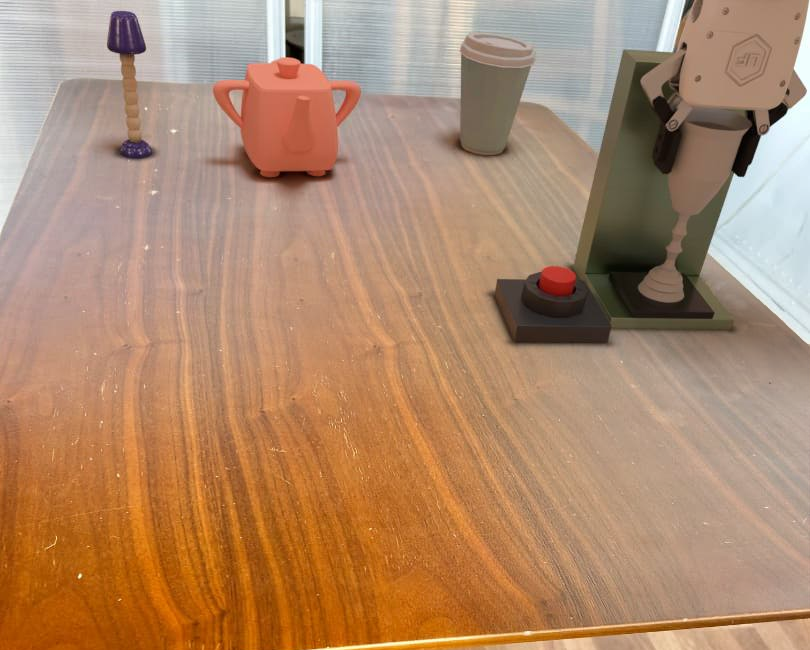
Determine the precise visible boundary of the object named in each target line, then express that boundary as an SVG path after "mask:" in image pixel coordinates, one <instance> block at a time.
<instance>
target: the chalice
mask: <svg viewBox="0 0 810 650" xmlns="http://www.w3.org/2000/svg"><path fill="white" fill-rule="evenodd" d="M751 126H752V123H751V121H750V120H748V119H747V118H746V117H744V116H742V115H739V114H737V113H734V112H731V111H727V110H722V109H718V108H703V107H694V108H693V109H692V110H691V112H690V113H689V114H688V116H687V117H686V118H685V119H684V121H683V122H682V123H681V124H680V126H679V129H678V130H679V131H680V132H681V133H682V136H681V140H680V143H679V147H678V150H677V154H676V157H675V160H674V164H673V167H672V171H671V172H670V173H669V174H668V182H669V190H670V196H671V202H672V208H673V209H674V210H675V211H676V212H678V213H679V219H678V222H677V224H676V226H675V228H673V229H672V230H671V231H672V234H673V239H672V241H671V243H670V245H668V246H666V250H667V259H666V261H665V263H664V264H662V265H661V266H656V267H654V268H653V269H652V270H650V271H649V274H648V275H647V276H645V278H644V280H643V281H642V282H641V283H640V284H639V285H638V290H639V291H640V293H642V294H643V295H644V296H646V297H648V298H650V299H652V300H656V301H660V302H678V301H680V300H682V299H683V298H684V292H683V283H682V281H683V278H682V276H681V274H680V272H679V271H678V270H676V267H675V266H674V265H675V259H676V257H677V256H678V254H679V253H681V252H682V248H681V240H682V239H683V237H684V236H685V235H686V234H687V231H686V225H687V221H688V219H689V217H690V215H696V214H699V213H700V212H701V211H702V209H703V208H704V207H705V206H706V205H707V204H708V203H709V202H710V200H711V199H712V198H713V197H714V196H715V195H716V194H717V192H718V191H719V190H720V188H721V187H722V185H723V184H724V183H725V181H726V180H727V178H728V177H729V175H730V172H731V169H732V166H733V163H734V160H735V157H736V154H737V151H738V148H739V145H740V142H741V139H742V136H743V135H744V134H745V133H746V132H747V130H748V129H749V128H750V127H751Z"/></svg>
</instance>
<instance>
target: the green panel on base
mask: <svg viewBox="0 0 810 650" xmlns="http://www.w3.org/2000/svg"><path fill="white" fill-rule="evenodd" d="M675 53H676V51H674V52H673V51H659V50H657V51H656V50H643V49H625V48H624V49H623V50H622V53H621V57H620V62H619V67H618V71H617V74H616V79H615V84H614V88H613V92H612V96H611V101H610V105H609V110H608V114H607V118H606V123H605V127H604V131H603V135H602V140H601V144H600V149H599V153H598V158H597V162H596V167H595V171H594V175H593V179H592V182H591V183H592V184H591V187H590V192H589V196H588V201H587V205H586V209H585V214H584V219H583V223H582V226H581V231H580V236H579V240H578V245H577V248H576V253H575V258H574V262H573V266H572V268H573V270H574V273H575V275H576V276H577V277H578V280H584V281H585V282H586V284H587V285H588V287H589V289H590V290H591V292H592V294H593V295H594V297H595V299H596V301H597V302H598V304H599V306H600V307H601V309H602V311H603V313H604V314H605V316H606V318H607V319H608V321H609V323H610V324H611V326H612V328H611V329H625V330H626V329H628V330H630V329H631V330H633V329H635V330H636V329H637V330H638V329H640V330H641V329H642V330H645V329H646V330H731V328H732V326H733V323H734V320H735V319H734V318H733V316H732V314H730V313H729V311H728V310H727V309H726V308H725V306H724V305H723V304H722V302H721V301H720V300H719V299H718V297H717V296H716V295H715V294H714V292H713V291H712V290H711V288H710V287H709V285H708V284H706V282H705V281H704V280H703V278H702V277H701V273H702V270H703V267H704V263H705V261H706V258H707V255H708V252H709V249H710V246H711V244H712V240H713V237H714V234H715V231H716V228H717V225H718V223H719V219H720V216H721V213H722V211H723V208H724V205H725V201H726V198H727V195H728V192H729V191H730V187H731V184H732V181H733V177H734V175H735V173H734V172H733V171H732V170H731V172H730V175H729V177H728V178H727V180H726V181H725V183H724V184H723V185H722V187H721V188H720V190H719V191H718V192H717V194H716V195H715V196H714V197H713V198H712V199H711V200H710V202H709V203H708V204H707V205H706V206H705V207H704V208H703V209H702V211H701V212H700V213H699V214H696V215H690V217H689V219H688V221H687V225H686V231H687V234H686V235H685V236H684V237H683V239H682V240H681V248H682V252H681V253H679V254H678V256H677V257H676V259H675V265H674V266H675V267H676V270H678V271H679V272H680V274H681V276H682V278H683V281H682V283H683V292H684V298H683V299H682V300H680V301H678V302H660V301H656V300H652V299H650V298H648V297H646V296H644V295H643V294H642V293H640V291H639V290H638V285H639V284H640V283H641V282H642V281H643V280H644V278H645V276H647V275H648V274H649V271H650V270H652V269H653V268H654V267H656V266H661V265H662V264H664V263H665V261H666V259H667V250H666V246H668V245H670V243H671V241H672V239H673V234H672V231H671V230H672V229H673V228H675V226H676V224H677V222H678V219H679V213H678V212H676V211H675V210H674V209H673V208H672V202H671V196H670V190H669V182H668V174H662V172H661V171H660V170H659V169H658V168H657V167H656V166H655V164H654V160H653V157H652V154H653V149H654V146H655V142H656V138H657V135H658V131H659V127H660V124H661V122H660V121H659V120H658V118H657V116H656V114H655V112H654V111H653V109H652V107H651V106H650V104H649V100H648V98H647V96H646V94H645V92H644V90H643V87H642V85H641V78H642V77H643V76H644V75H645V74H647V73H648V72H650V71H651V70H652V69H654V68H655V67H657V66H658V65H659V64H661V63H662V62H664V61H665V60H666V59H668V58H669V57H671V56H672V55H673V54H675ZM661 89H662V92H663V95H664V98H665V99H666V101H668V99H669V98H670V97H671V95H672V94H673V93H674V90H672V89H671V88H670V86H669V80H668V81H666V82H665V83H664V84H663V85H662V88H661ZM718 109H719V108H718ZM722 110H727V111H731V112H734V113H737V114H739V115H742V116H744V117H745V111H744V110H738V109H722Z"/></svg>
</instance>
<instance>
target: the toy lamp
mask: <svg viewBox="0 0 810 650" xmlns="http://www.w3.org/2000/svg"><path fill="white" fill-rule="evenodd" d="M106 47H107V49H108V51H109V52H111V53H115V54H118V55H119V60H120V63H121V65H120V72H121V75H122V80H121V82H122V88H123V100H124V102H125V104H124V111H125V115H126V119H125V120H126V121H125V122H126V126H127V128H128V129H127V138H128V139H126V140H124V141H123V143H121V146H120V148H119V154H120V156H122V157H124V158H127V159H133V160H135V159H136V160H138V159H146V158H150V157H151V156H153V154H154V153H153V149H152V146H150V144H149V143H148V142H147V141H145V140H144V139H142V137H143V135H142V130H141V119H140V117H139V116H140V112H141V111H140V106H139V104H138V102H139V94H138V92H137V88H138V82H137V78H136V74H137V71H136V69H137V68H136V66H135V60H136V58H135V55H141V54H143V53H145V52H146V51H147V46H146V42H145V38H144V35H143V33H142V29H141V24H140V21H139V20H138V17H137V15H136V13H134V12H133V11H127V10H114V11H112V12H111V13H110V17H109V25H108V32H107V41H106Z"/></svg>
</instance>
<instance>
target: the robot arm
mask: <svg viewBox="0 0 810 650" xmlns="http://www.w3.org/2000/svg"><path fill="white" fill-rule="evenodd" d="M809 4H810V0H694V1H693V3H692V6H691V8H690V10H689V13H688V16H687V18H686V21H685V24H684V27H683V29H682V31H681V35H680V38H679V40H678V44H677V47H676V50H675V52H676V53H675V54H673V55H672V56H671V57H669V58H668V59H666V60H665V61H664V62H662V63H661V64H659V65H658V66H657V67H655V68H654V69H652V70H651V71H650V72H648V73H647V74H645V75H644V76H643V77H642V78H641V85H642V87H643V90H644V92H645V94H646V96H647V98H648V100H649V104H650V106H651V107H652V109H653V111H654V112H655V114H656V116H657V118H658V120H659V121H660V122H661V124H660V127H659V131H658V135H657V138H656V142H655V146H654V149H653V154H652V157H653V160H654V164H655V166H656V167H657V168H658V169H659V170H660V171H661V172H662V174H669V173H670V172H671V171H672V167H673V164H674V160H675V157H676V154H677V150H678V147H679V143H680V140H681V136H682V133H681V132H680V131H679V130H678V129H679V126H680V124H681V123H682V122H683V121H684V119H685V118H686V117H687V116H688V114H689V113H690V112H691V110H692V109H693V108H694V107H703V108H719V109H738V110H744V111H745V117H746V118H747V119H748V120H750V121H751V123H752V126H751V127H750V128H749V129H748V130H747V132H746V133H745V134H744V135H743V136H742V139H741V142H740V145H739V148H738V151H737V154H736V157H735V160H734V163H733V166H732V169H731V170H732V171H733V172H734V175H735V176H737V177H738V178H745V176H746V174H747V172H748V168H749V166H751V165H752V163H753V160H754V158H755V155H756V152H757V149H758V147H759V143H760V141H761V139H762V136H765V135H767V134H768V133H769V131H770V130H771V127H772V126H773V125H775V124H776V123H777V122H779V121H780V120H781V119H782V118H784V117H785V116H786V115H787V113H788V111H789V110H791V109H792V108H794V107H795V105H797V104H798V102H800V101H802V99H804V98H805V96H806V95H807V92H808V89H807V87H806V86H805V83H803V81H802V80H801V78H800V76H799V75H798V73H797V72H796V70H795V69H794V68H795V66H796V61H797V58H798V54H799V51H800V47H801V43H802V39H803V37H804V36H803V35H804V30H805V26H806V21H807V16H808V11H809ZM668 80H669V86H670V88H671V89H672V90H674V93H673V94H672V95H671V97H670V98H669V99H668V101H666V99H665V98H664V95H663V92H662V89H661V88H662V85H663V84H664V83H665V82H666V81H668Z"/></svg>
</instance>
